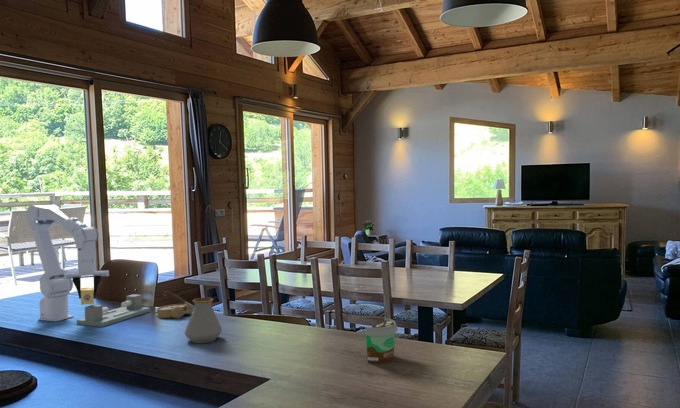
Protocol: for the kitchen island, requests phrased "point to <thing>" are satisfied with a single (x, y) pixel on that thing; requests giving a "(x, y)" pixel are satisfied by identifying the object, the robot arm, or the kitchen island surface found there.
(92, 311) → the long grey base plate
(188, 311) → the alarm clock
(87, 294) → the block
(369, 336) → the food container
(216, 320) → the coffee pot
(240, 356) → the kitchen island surface
